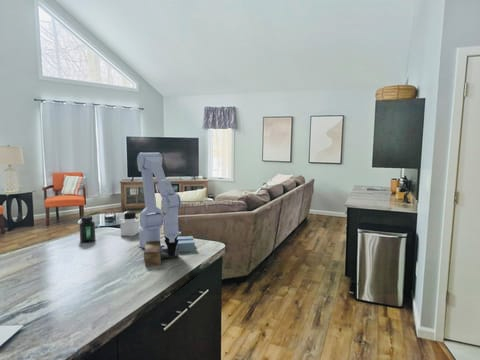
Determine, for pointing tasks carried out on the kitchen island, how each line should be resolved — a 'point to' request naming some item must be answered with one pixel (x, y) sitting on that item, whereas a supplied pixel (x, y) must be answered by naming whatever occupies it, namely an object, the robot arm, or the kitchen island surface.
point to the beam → (152, 253)
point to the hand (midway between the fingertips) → (171, 253)
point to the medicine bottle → (129, 224)
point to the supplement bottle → (87, 229)
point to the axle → (166, 253)
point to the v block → (185, 244)
